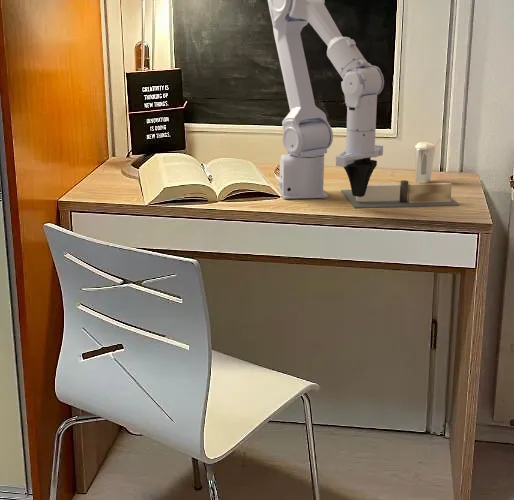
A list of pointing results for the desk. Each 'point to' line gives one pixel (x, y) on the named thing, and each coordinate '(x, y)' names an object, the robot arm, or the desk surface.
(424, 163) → the milkshake
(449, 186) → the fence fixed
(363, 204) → the card
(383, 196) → the fence gate
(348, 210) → the desk surface
